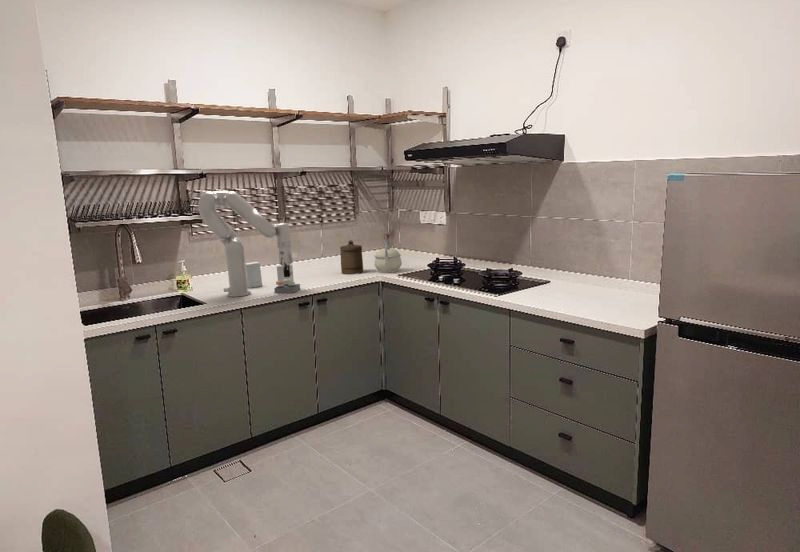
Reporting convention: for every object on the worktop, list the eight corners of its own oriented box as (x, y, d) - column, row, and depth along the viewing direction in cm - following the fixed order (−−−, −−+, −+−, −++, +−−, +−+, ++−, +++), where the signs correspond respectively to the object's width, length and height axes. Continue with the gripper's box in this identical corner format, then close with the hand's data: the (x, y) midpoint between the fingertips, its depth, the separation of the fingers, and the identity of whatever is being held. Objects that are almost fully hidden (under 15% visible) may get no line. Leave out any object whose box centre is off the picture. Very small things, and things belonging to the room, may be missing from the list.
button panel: (274, 293, 293) (274, 287, 292) (281, 289, 304) (281, 283, 304) (293, 293, 291) (293, 287, 291) (300, 288, 303) (299, 283, 303)
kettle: (376, 269, 364) (374, 233, 360) (402, 268, 363) (400, 232, 359) (373, 275, 340) (370, 237, 336) (401, 274, 339) (399, 235, 335)
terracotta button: (275, 284, 292) (274, 282, 292) (277, 283, 296) (277, 280, 296) (282, 284, 292) (281, 281, 292) (284, 283, 296) (284, 280, 296)
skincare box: (260, 285, 324) (257, 261, 321) (262, 286, 319) (260, 262, 316) (246, 287, 320) (244, 263, 317) (248, 288, 315) (246, 263, 312)
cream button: (282, 282, 299) (282, 279, 299) (285, 281, 303) (284, 278, 303) (289, 282, 299) (289, 279, 298) (291, 281, 302) (291, 278, 302)
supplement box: (289, 286, 313) (287, 265, 311) (278, 287, 314) (276, 266, 312) (294, 284, 320) (292, 264, 318) (283, 284, 321) (281, 264, 319)
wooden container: (365, 270, 363) (363, 239, 359) (360, 274, 348) (358, 241, 345) (344, 271, 365) (342, 239, 361) (339, 274, 350) (336, 242, 347)
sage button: (286, 286, 294) (286, 283, 294) (289, 284, 298) (288, 282, 298) (293, 285, 293) (293, 283, 293) (295, 284, 297) (295, 281, 297)
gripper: (286, 246, 290) (289, 278, 293) (294, 243, 304) (297, 274, 307) (273, 246, 291) (276, 279, 293) (282, 243, 305) (285, 274, 308)
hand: (287, 276), depth 300 cm, fingers closed
